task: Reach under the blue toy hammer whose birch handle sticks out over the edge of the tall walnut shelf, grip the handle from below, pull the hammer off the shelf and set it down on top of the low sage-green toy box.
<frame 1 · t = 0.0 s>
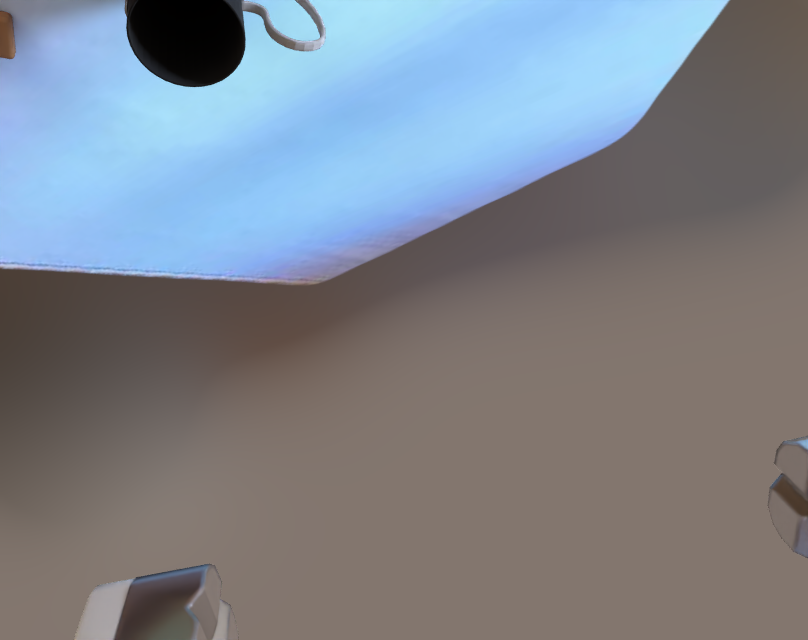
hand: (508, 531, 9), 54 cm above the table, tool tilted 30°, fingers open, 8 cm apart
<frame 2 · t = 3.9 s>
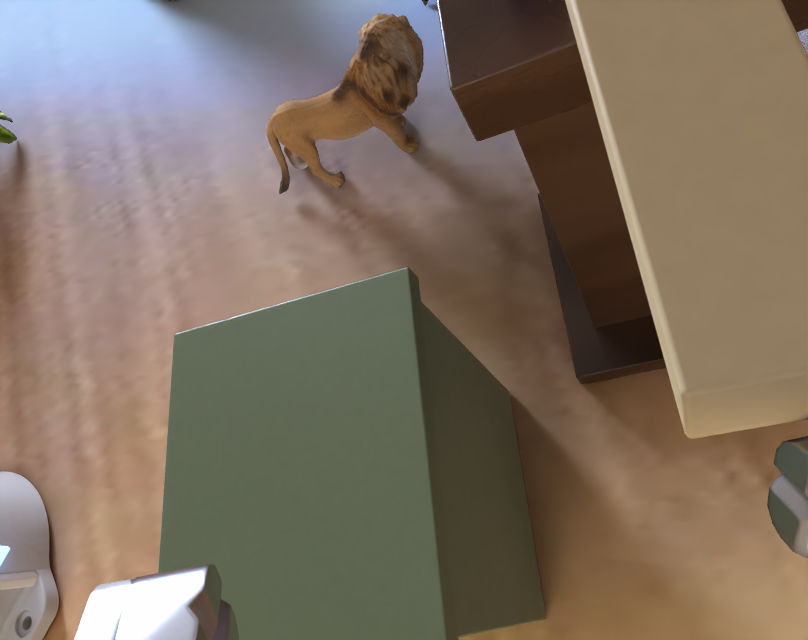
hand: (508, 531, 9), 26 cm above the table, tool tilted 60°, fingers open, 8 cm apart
lion figurine: (371, 146, 49), on the table
toy box: (440, 510, 36), on the table
shelf stand: (647, 267, 37), on the table
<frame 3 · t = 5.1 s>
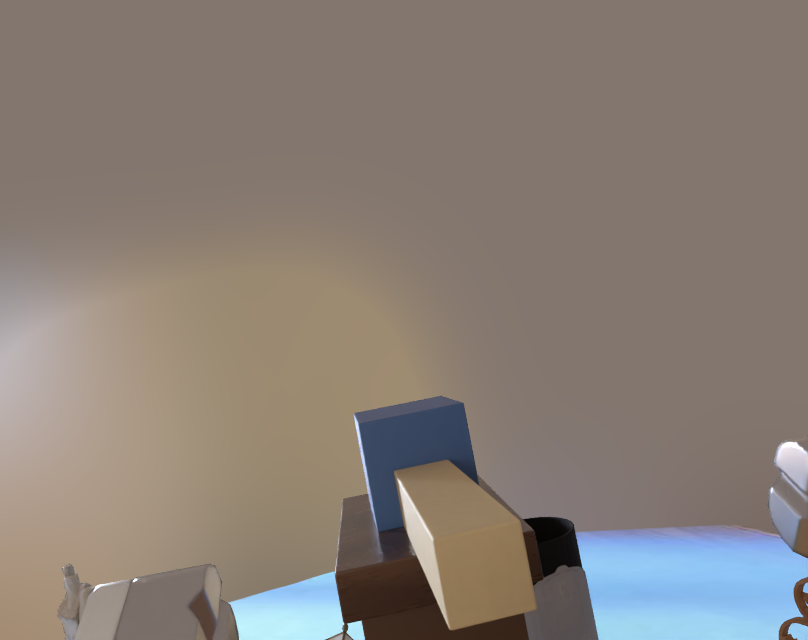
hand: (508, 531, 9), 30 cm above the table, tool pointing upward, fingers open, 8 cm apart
toy hammer: (422, 506, 32), point 25 cm above the table, touching shelf stand
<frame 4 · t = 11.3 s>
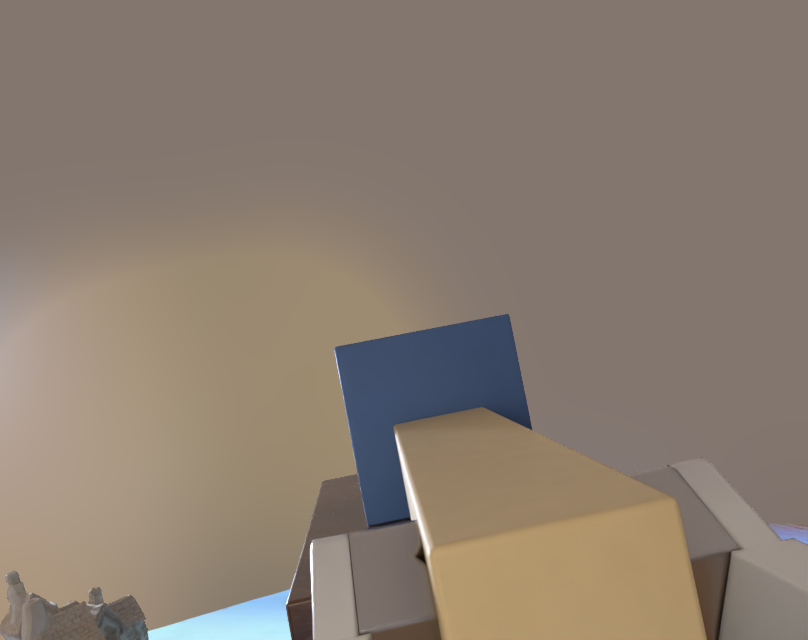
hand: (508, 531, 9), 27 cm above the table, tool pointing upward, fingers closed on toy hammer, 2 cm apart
toy hammer: (444, 486, 21), point 25 cm above the table, touching gripper, shelf stand
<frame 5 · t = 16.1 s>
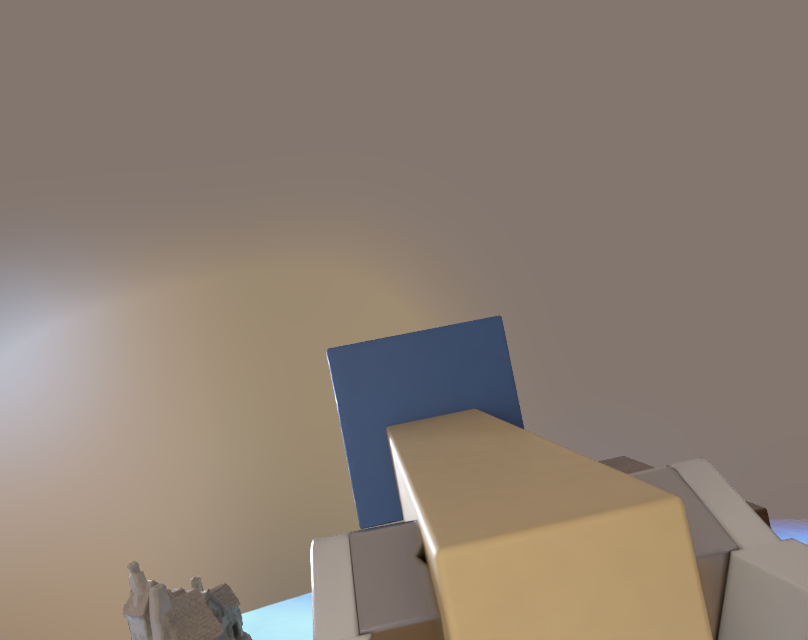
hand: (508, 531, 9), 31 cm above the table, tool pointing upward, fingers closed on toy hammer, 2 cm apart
toy hammer: (436, 488, 21), point 29 cm above the table, touching gripper
when the fingers open (18 cm above the table, at t = 20.8 s): toy hammer stays where it is, resting on toy box.
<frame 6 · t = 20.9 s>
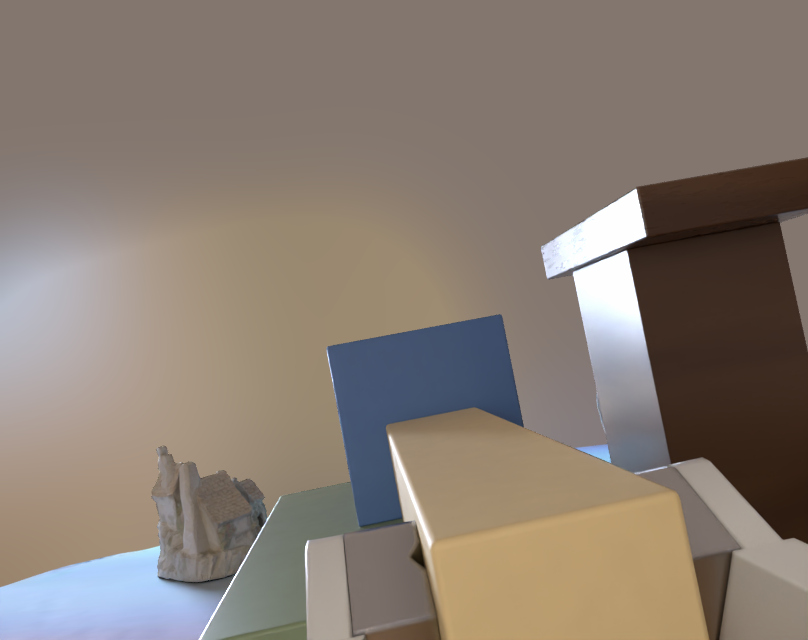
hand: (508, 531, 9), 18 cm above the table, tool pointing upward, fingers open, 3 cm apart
ceramic cottage: (227, 557, 78), on the table
toy hammer: (436, 487, 21), point 16 cm above the table, touching toy box
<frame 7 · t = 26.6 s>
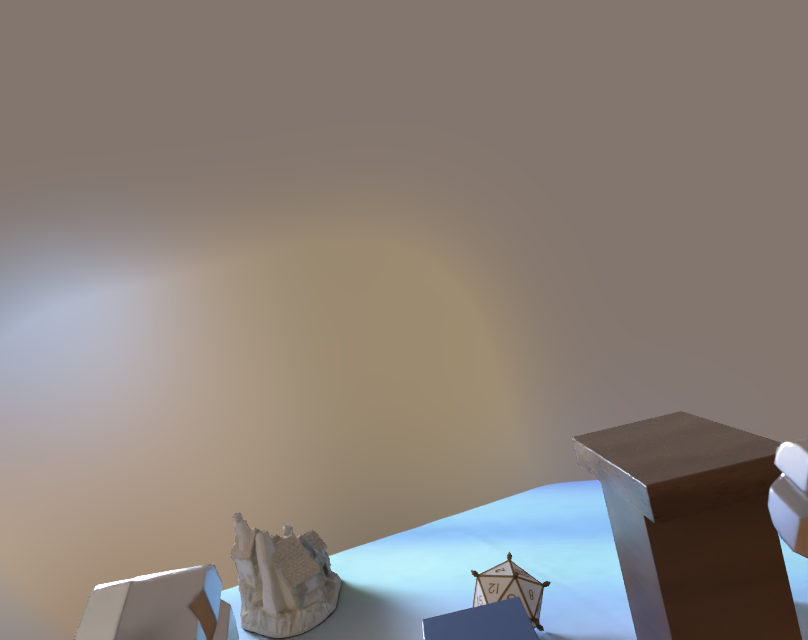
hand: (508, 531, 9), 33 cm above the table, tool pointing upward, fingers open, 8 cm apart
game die: (516, 638, 68), on the table
ceramic cottage: (299, 606, 89), on the table
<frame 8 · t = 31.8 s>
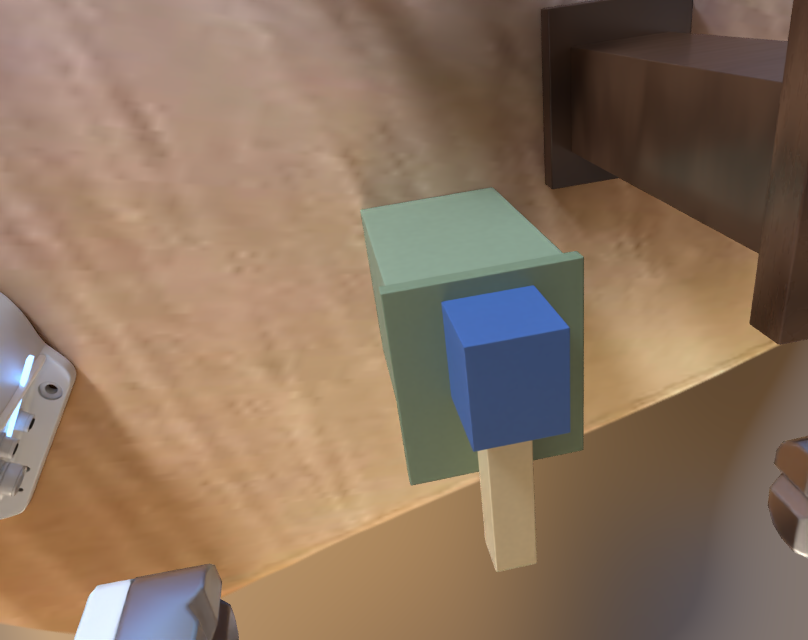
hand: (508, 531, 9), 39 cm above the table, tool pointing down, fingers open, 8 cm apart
toy box: (435, 272, 50), on the table
toy hammer: (491, 342, 35), point 16 cm above the table, touching toy box
shelf stand: (610, 91, 46), on the table
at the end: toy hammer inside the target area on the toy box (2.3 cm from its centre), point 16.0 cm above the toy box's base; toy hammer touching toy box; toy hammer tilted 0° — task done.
